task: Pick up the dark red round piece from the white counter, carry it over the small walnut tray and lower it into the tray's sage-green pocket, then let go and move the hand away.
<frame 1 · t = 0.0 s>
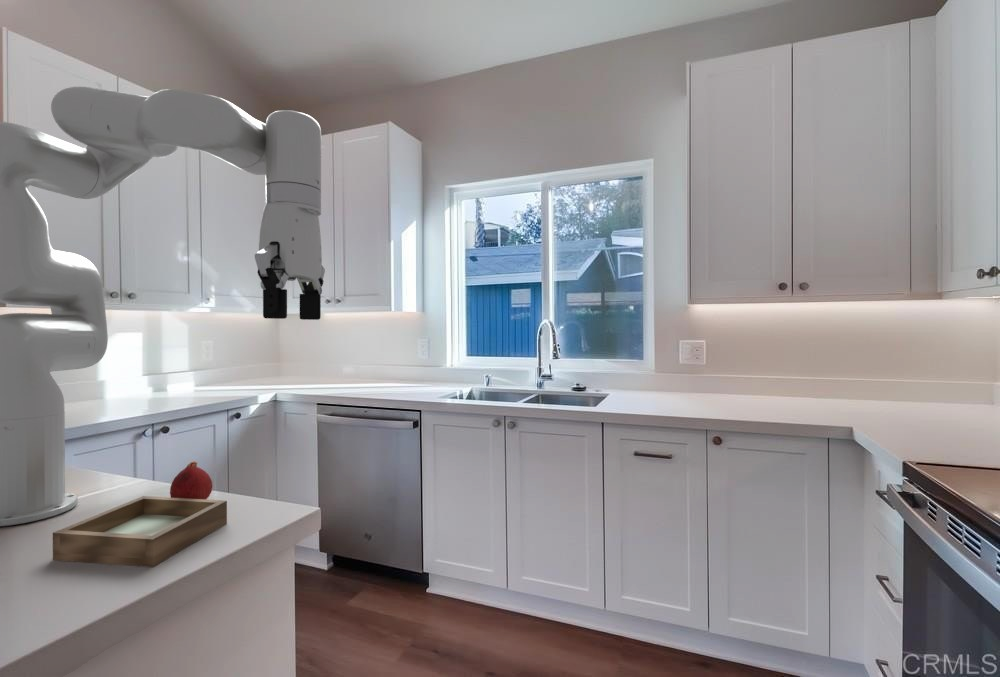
hand: (293, 318, 74), 31 cm above the counter, tool pointing down, fingers open, 9 cm apart
tray: (147, 540, 70), on the counter
dark red round piece: (191, 512, 81), on the counter
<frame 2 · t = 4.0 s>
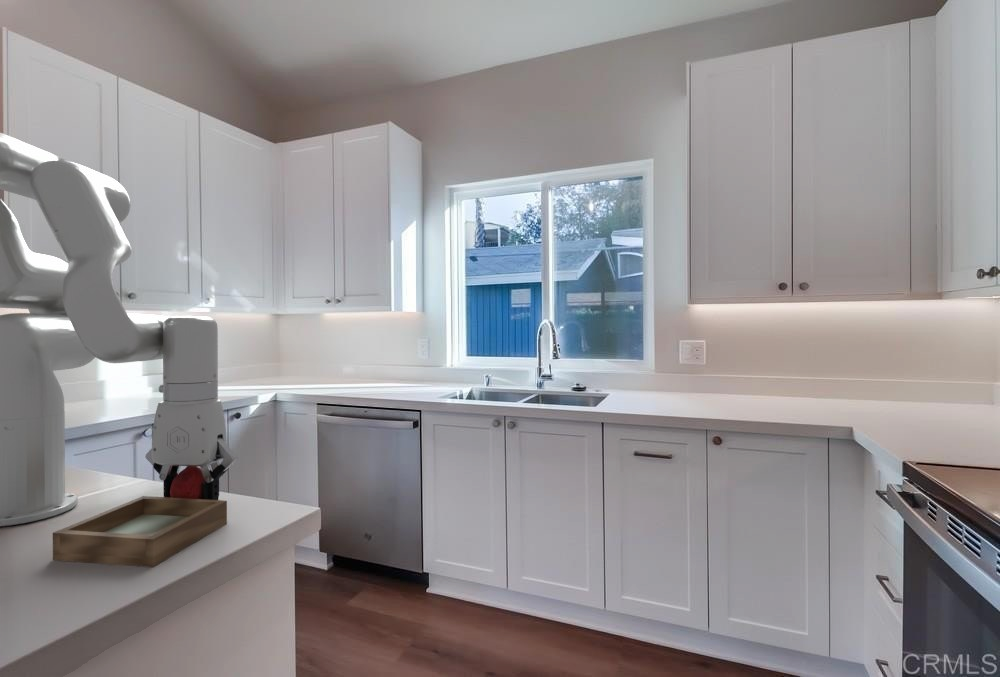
hand: (191, 502, 81), 1 cm above the counter, tool pointing down, fingers closed on dark red round piece, 5 cm apart
dark red round piece: (191, 512, 81), on the counter, touching gripper
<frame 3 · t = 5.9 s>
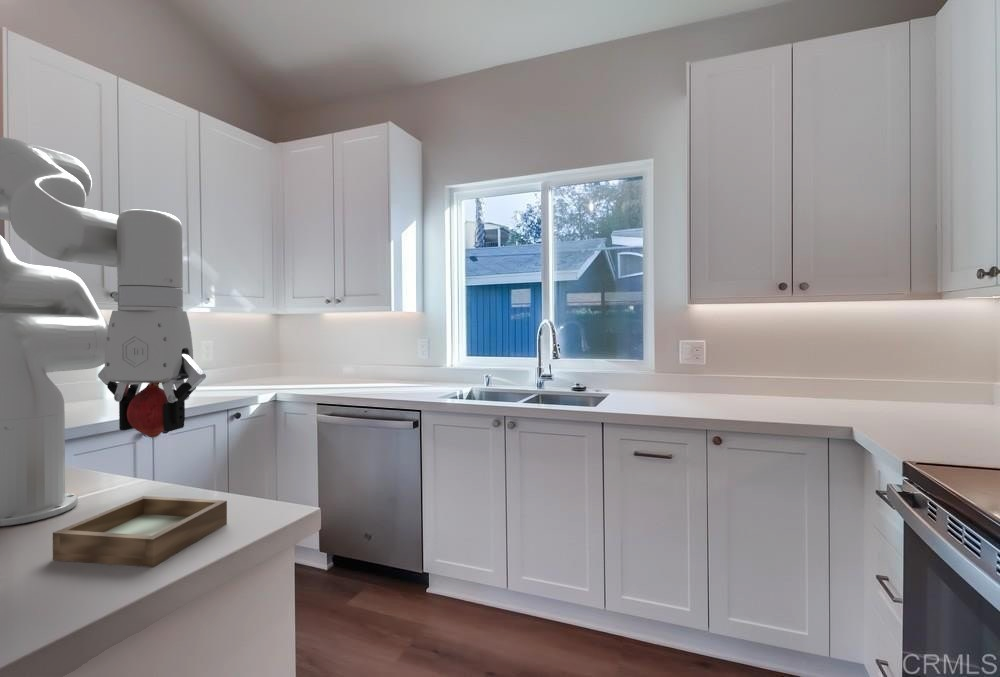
hand: (152, 427, 71), 16 cm above the counter, tool pointing down, fingers closed on dark red round piece, 5 cm apart
dark red round piece: (152, 438, 71), point 14 cm above the counter, touching gripper
when the fingers open (4 cm above the counter, at t = 8.1 s): dark red round piece drops 2 cm, resting on tray.
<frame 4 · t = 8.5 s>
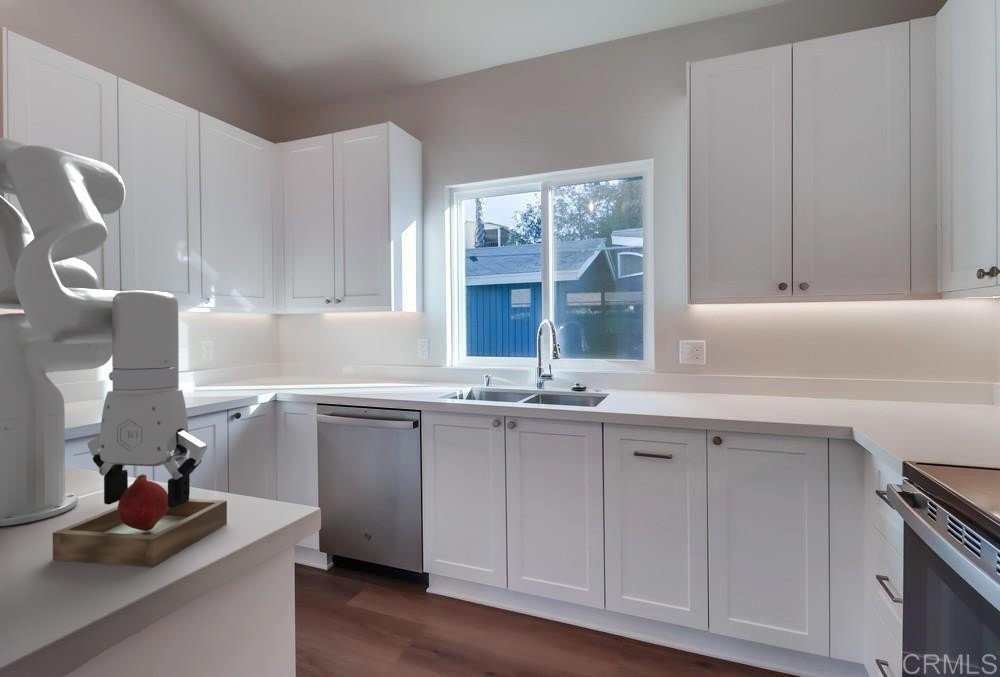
hand: (147, 502, 70), 5 cm above the counter, tool pointing down, fingers open, 9 cm apart
dark red round piece: (148, 532, 70), point 1 cm above the counter, touching tray
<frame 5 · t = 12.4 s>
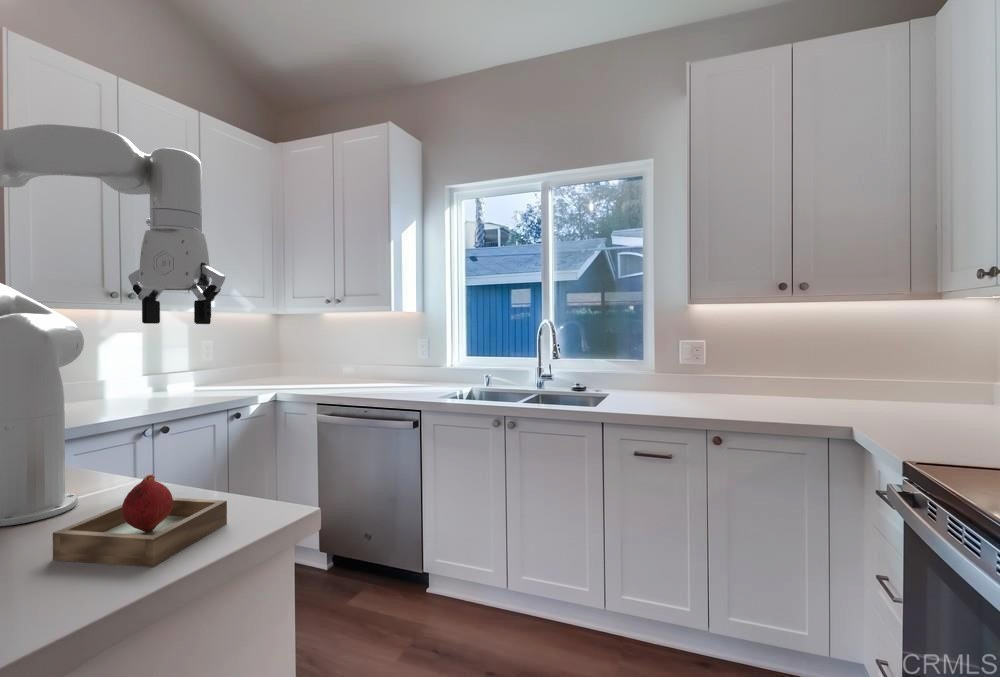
hand: (176, 323, 87), 30 cm above the counter, tool pointing down, fingers open, 9 cm apart
nothing on the counter moved.
at the end: dark red round piece inside the target area on the tray (0.1 cm from its centre), point 1.0 cm above the tray's base; the gripper is holding nothing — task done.
